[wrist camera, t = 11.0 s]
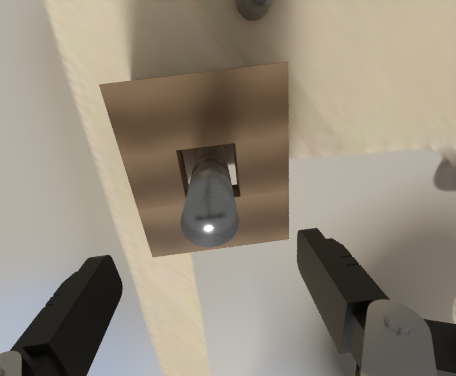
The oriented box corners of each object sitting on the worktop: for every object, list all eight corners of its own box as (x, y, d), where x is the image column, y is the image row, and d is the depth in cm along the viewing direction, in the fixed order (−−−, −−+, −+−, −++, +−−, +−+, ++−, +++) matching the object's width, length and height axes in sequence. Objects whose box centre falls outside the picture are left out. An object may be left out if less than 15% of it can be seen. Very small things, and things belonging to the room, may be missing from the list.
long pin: (195, 142, 25) (174, 201, 12) (223, 139, 25) (236, 193, 12) (199, 169, 27) (186, 250, 13) (226, 165, 27) (241, 243, 13)
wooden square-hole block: (131, 87, 23) (99, 84, 16) (266, 70, 23) (288, 61, 17) (165, 220, 29) (152, 257, 23) (271, 207, 29) (288, 239, 23)
